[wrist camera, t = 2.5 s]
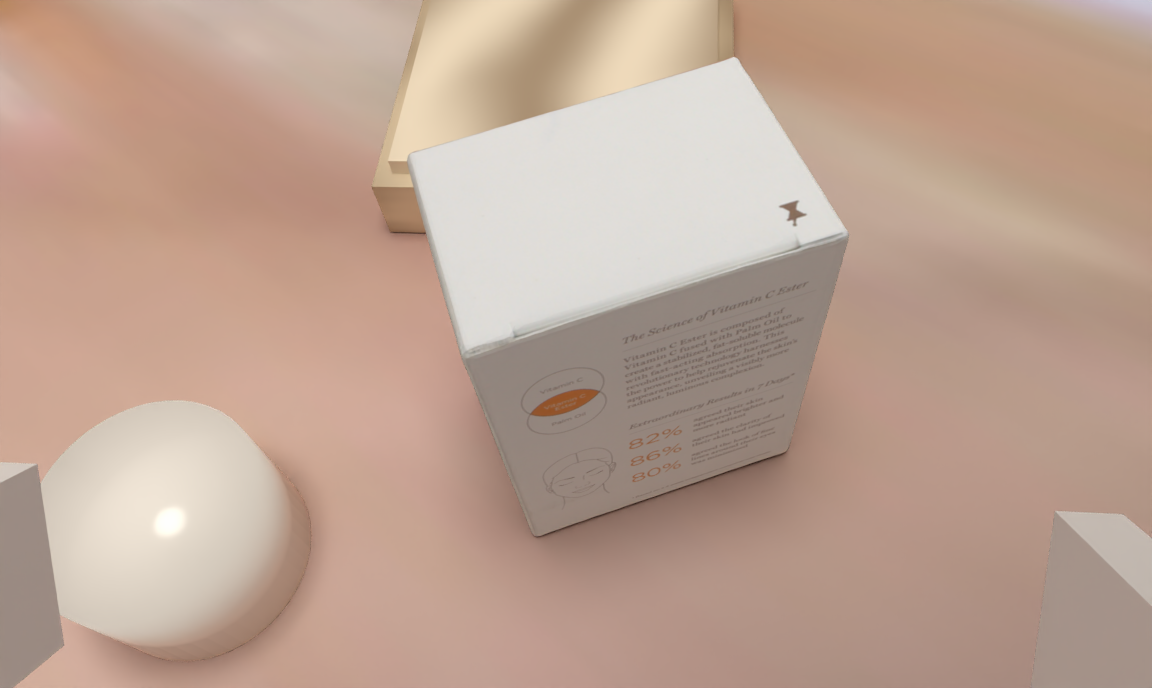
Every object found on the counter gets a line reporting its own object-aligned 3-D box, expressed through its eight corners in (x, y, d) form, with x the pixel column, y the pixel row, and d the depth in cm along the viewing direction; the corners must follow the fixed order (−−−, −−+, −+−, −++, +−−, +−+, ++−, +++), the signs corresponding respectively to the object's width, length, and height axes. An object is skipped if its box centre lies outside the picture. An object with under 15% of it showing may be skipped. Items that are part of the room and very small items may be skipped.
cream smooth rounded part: (333, 466, 27) (286, 406, 23) (280, 671, 24) (217, 637, 20) (150, 454, 27) (78, 394, 24) (75, 652, 24) (-20, 615, 21)
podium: (728, 9, 36) (733, -57, 33) (729, 238, 30) (736, 178, 27) (445, 12, 37) (430, -51, 35) (390, 232, 31) (366, 174, 29)
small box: (718, 308, 28) (745, 46, 20) (792, 457, 26) (863, 229, 17) (482, 382, 28) (398, 144, 19) (530, 544, 25) (457, 354, 16)
